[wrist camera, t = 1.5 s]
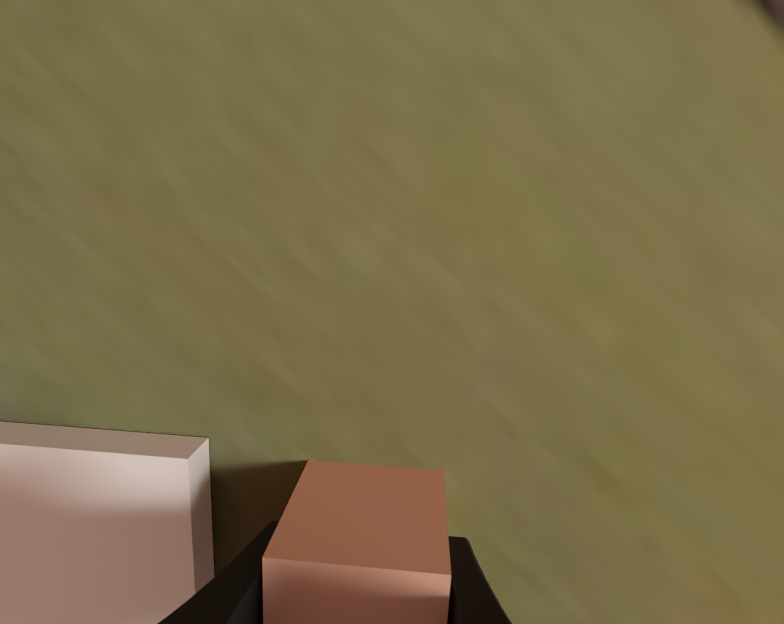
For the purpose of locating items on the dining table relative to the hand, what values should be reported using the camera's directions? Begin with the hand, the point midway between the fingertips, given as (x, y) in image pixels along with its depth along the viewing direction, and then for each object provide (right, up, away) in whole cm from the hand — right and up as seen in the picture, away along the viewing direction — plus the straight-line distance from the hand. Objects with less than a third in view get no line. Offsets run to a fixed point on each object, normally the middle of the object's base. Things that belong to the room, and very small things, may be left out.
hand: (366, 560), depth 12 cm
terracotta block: (0, 0, +2) cm, 2 cm away
